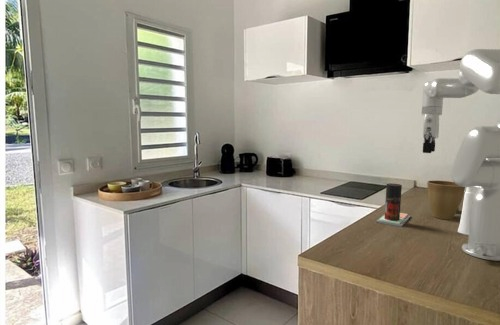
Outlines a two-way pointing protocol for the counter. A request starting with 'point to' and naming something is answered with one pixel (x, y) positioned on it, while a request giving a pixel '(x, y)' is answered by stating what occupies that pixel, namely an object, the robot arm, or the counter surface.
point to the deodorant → (393, 202)
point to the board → (399, 223)
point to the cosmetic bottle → (466, 211)
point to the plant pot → (444, 198)
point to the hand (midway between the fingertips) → (428, 152)
